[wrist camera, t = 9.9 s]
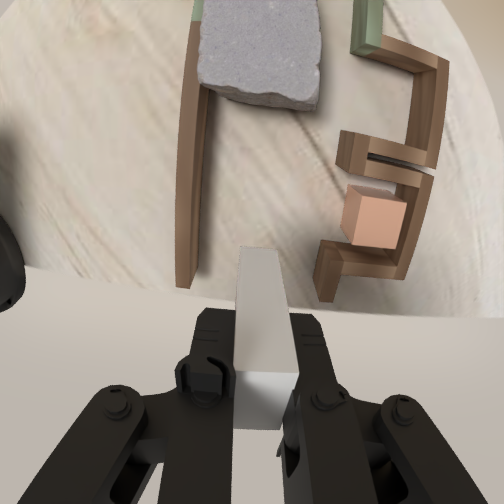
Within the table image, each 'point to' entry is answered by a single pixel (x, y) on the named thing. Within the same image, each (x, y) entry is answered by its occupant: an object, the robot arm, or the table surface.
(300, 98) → the decorative stone
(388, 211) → the cube
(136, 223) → the table surface
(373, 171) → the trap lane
